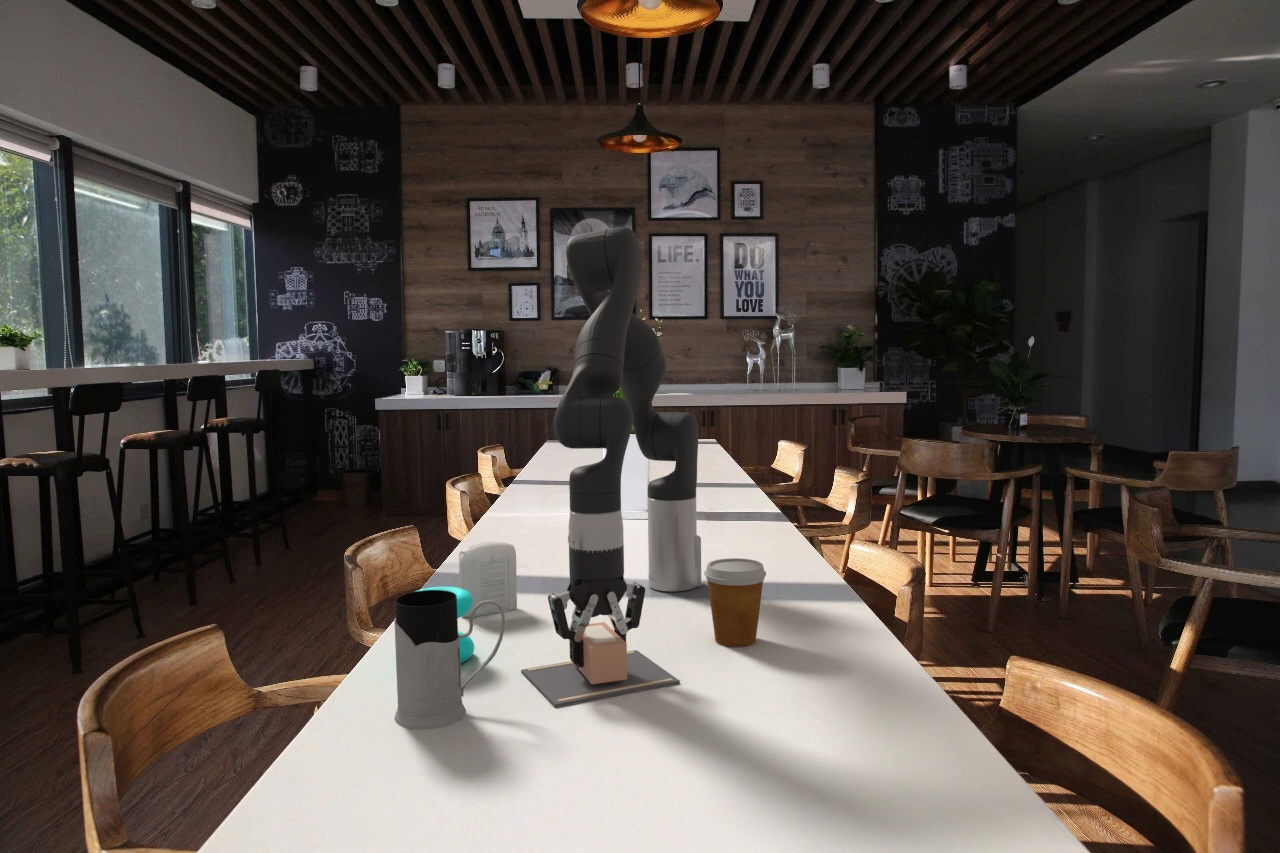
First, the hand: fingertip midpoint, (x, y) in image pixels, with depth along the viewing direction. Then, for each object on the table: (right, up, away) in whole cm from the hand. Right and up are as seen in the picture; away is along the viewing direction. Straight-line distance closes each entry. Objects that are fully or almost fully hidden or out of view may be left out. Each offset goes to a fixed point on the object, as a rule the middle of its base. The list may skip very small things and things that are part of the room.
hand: (598, 661), depth 126 cm
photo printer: (-21, 0, +32) cm, 38 cm away
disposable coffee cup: (+21, -1, +15) cm, 26 cm away
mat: (0, -2, 0) cm, 2 cm away
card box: (0, -1, 0) cm, 1 cm away
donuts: (-24, -2, +9) cm, 26 cm away
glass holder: (-18, -4, -10) cm, 21 cm away
